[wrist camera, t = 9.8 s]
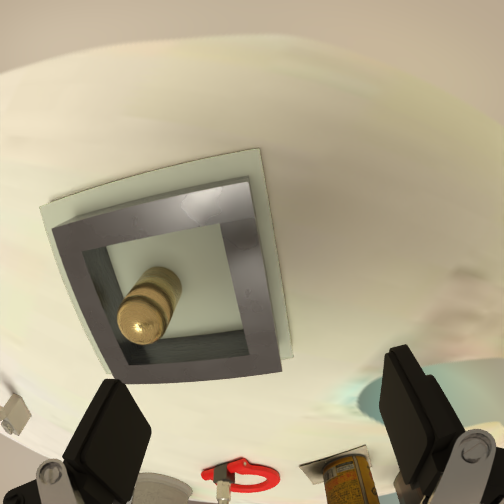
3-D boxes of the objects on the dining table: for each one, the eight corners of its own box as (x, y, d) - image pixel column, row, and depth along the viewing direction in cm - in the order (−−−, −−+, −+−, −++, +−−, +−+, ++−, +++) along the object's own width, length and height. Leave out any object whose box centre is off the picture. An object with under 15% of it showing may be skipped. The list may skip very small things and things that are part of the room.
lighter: (31, 416, 29) (8, 455, 21) (23, 412, 29) (0, 449, 21) (13, 380, 27) (-16, 421, 19) (4, 377, 26) (-25, 415, 19)
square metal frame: (248, 175, 17) (248, 181, 15) (278, 344, 21) (282, 371, 19) (75, 216, 18) (51, 228, 15) (129, 359, 22) (117, 384, 19)
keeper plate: (258, 148, 18) (259, 148, 17) (291, 346, 23) (293, 357, 22) (50, 202, 19) (39, 206, 18) (112, 363, 24) (106, 373, 23)
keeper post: (175, 263, 19) (150, 305, 14) (187, 303, 20) (169, 353, 15) (134, 270, 19) (100, 311, 14) (147, 308, 20) (121, 356, 15)
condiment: (371, 465, 31) (391, 535, 20) (313, 483, 32) (323, 554, 21) (365, 443, 29) (389, 525, 18) (298, 464, 30) (308, 547, 19)
